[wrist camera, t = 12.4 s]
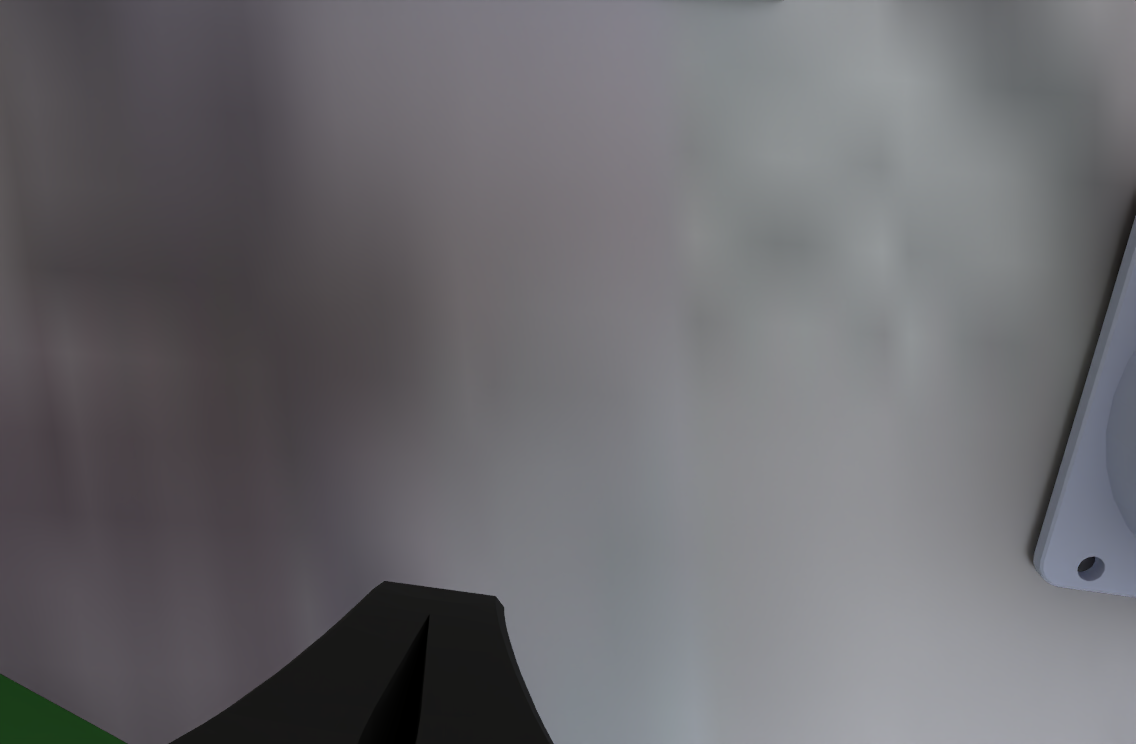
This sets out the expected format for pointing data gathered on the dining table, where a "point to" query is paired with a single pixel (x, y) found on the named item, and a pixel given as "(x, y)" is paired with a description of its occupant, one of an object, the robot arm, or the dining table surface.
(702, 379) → the dining table surface
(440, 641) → the robot arm
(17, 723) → the hardback book
